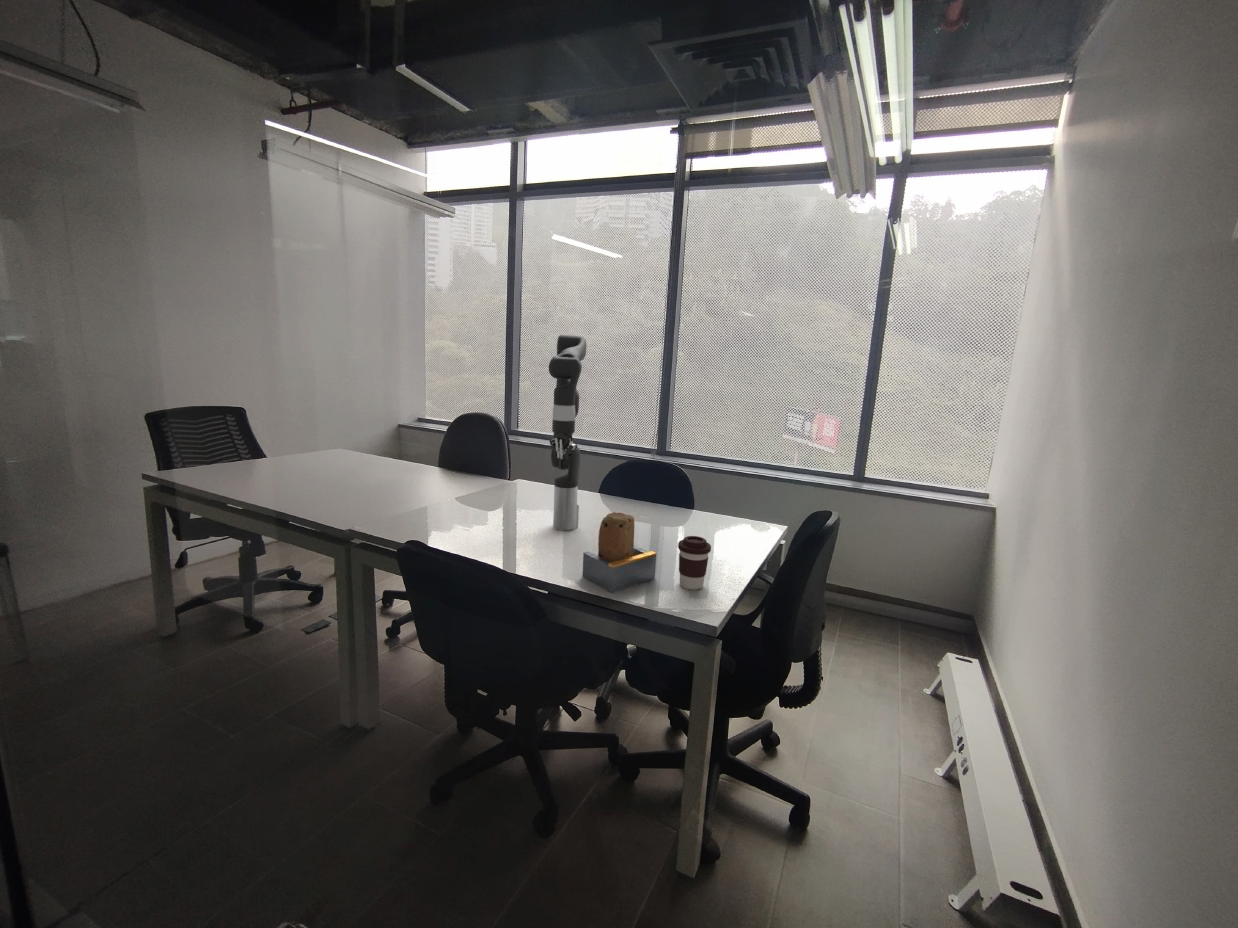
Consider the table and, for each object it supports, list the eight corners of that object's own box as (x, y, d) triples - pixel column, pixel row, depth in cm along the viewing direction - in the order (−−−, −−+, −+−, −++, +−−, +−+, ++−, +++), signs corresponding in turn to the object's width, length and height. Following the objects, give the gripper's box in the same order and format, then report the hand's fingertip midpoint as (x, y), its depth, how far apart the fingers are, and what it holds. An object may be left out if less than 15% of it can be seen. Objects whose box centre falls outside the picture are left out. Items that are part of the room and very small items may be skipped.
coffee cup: (689, 576, 171) (692, 531, 168) (713, 586, 164) (718, 540, 161) (668, 583, 164) (672, 537, 161) (693, 595, 157) (697, 547, 154)
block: (633, 574, 170) (637, 514, 166) (625, 583, 163) (628, 521, 159) (602, 568, 174) (605, 509, 170) (593, 576, 167) (596, 515, 163)
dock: (625, 564, 178) (626, 540, 176) (654, 578, 167) (656, 553, 166) (582, 576, 166) (583, 550, 164) (611, 592, 156) (613, 565, 154)
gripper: (585, 420, 174) (583, 471, 177) (561, 415, 183) (559, 464, 187) (566, 421, 169) (565, 474, 172) (543, 416, 178) (542, 466, 182)
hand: (562, 469), depth 179 cm, fingers closed
